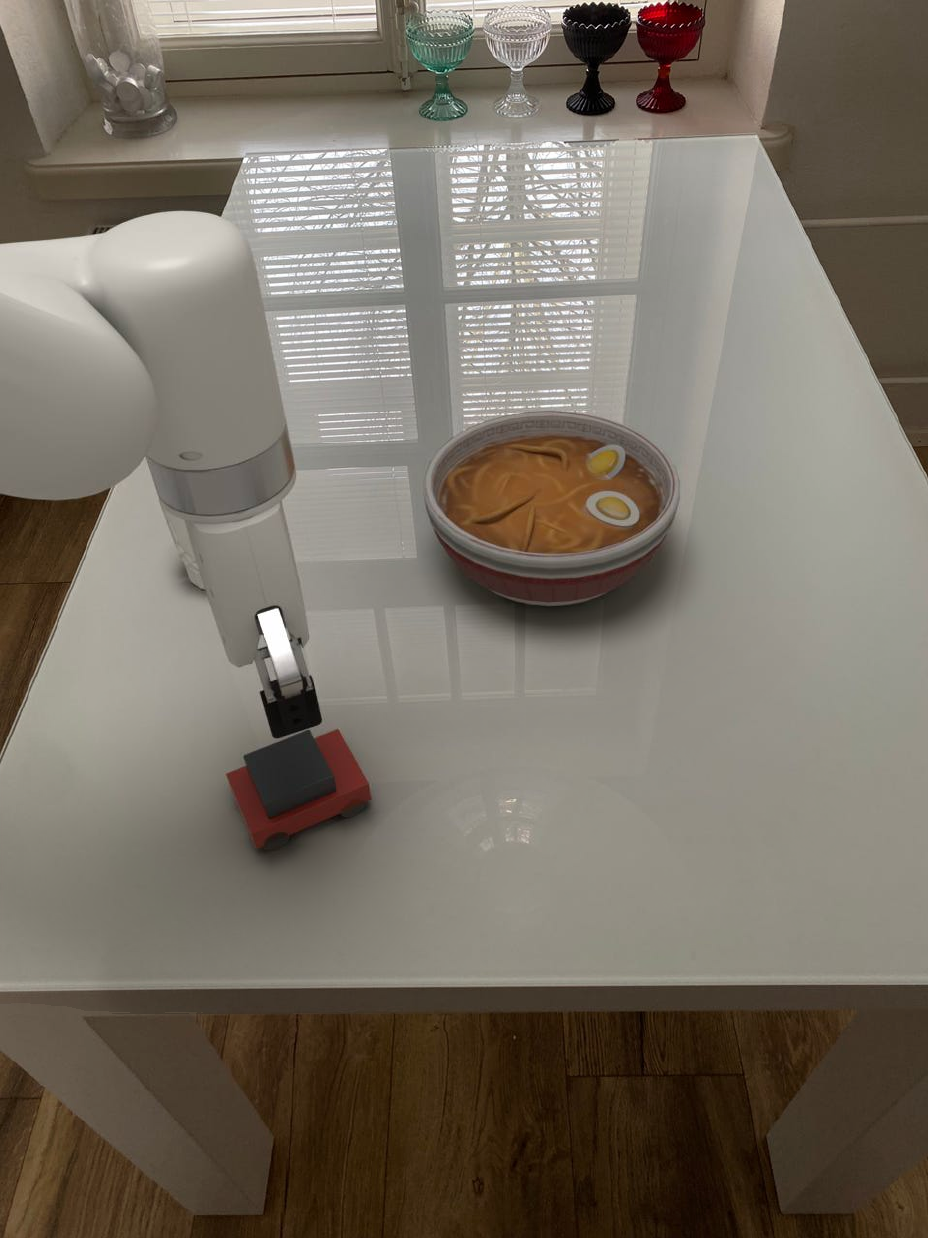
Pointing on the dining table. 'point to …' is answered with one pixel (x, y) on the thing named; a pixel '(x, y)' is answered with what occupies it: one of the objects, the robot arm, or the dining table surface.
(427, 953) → the dining table surface
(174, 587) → the dining table surface
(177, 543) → the white cup
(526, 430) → the bowl
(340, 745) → the toy car
